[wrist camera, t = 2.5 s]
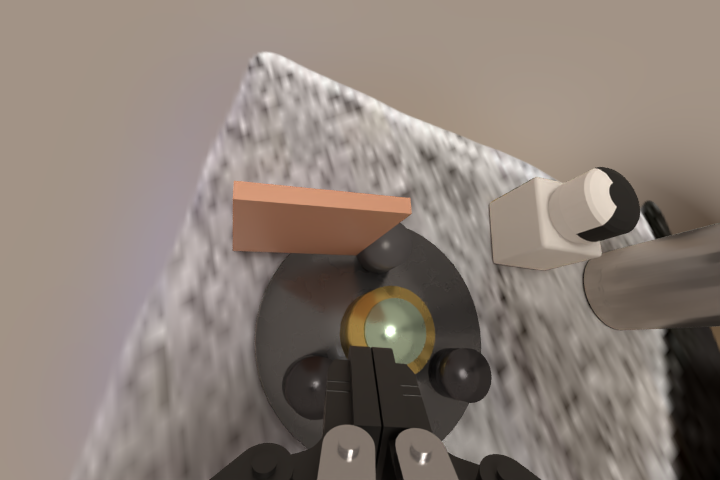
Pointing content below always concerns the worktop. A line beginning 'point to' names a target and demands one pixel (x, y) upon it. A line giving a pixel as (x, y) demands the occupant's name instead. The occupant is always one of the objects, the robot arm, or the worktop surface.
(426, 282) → the levelling base
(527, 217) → the medicine bottle
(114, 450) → the worktop surface
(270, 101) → the worktop surface
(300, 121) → the worktop surface
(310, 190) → the terracotta flat panel
